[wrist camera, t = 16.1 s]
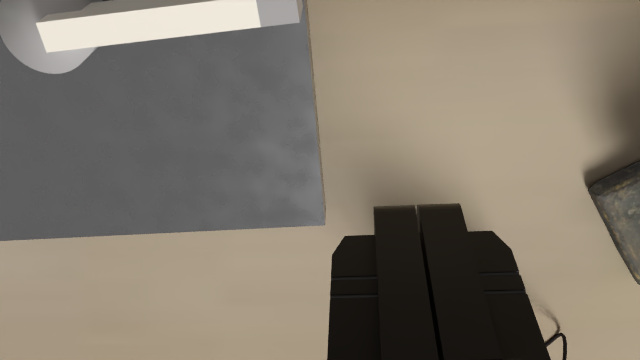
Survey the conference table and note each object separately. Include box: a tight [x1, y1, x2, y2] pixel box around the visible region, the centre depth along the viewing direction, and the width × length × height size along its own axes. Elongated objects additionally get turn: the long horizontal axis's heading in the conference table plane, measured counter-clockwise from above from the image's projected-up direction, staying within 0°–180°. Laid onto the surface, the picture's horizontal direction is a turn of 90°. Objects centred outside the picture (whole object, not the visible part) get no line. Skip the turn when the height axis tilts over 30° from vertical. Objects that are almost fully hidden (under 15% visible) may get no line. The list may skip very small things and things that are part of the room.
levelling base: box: [0, 0, 326, 241], centre depth 37 cm, size 24×24×6 cm
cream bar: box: [0, 0, 303, 74], centre depth 33 cm, size 16×5×4 cm, turn 97°
